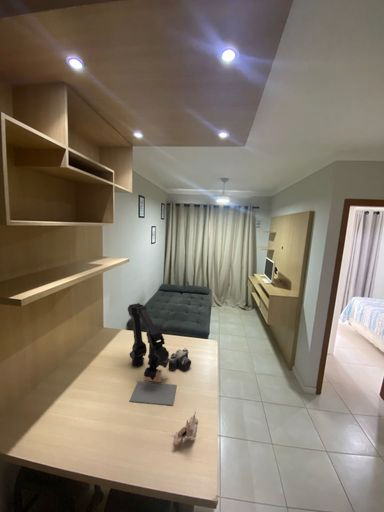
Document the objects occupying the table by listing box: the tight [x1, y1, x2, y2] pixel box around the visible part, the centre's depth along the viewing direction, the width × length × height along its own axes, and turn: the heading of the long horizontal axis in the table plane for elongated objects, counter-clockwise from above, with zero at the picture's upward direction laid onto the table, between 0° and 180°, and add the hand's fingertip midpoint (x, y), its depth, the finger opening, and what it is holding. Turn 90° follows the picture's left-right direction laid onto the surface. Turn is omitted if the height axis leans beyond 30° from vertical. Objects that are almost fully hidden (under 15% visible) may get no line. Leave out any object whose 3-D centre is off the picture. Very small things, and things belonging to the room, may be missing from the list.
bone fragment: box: [172, 411, 199, 447], centre depth 93 cm, size 16×7×10 cm
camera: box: [168, 347, 192, 372], centre depth 137 cm, size 16×10×10 cm, turn 139°
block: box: [144, 369, 163, 383], centre depth 125 cm, size 9×2×6 cm, turn 87°
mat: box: [129, 381, 178, 407], centre depth 115 cm, size 22×14×1 cm, turn 87°
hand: (153, 378), depth 125 cm, fingers closed on block, 2 cm apart
